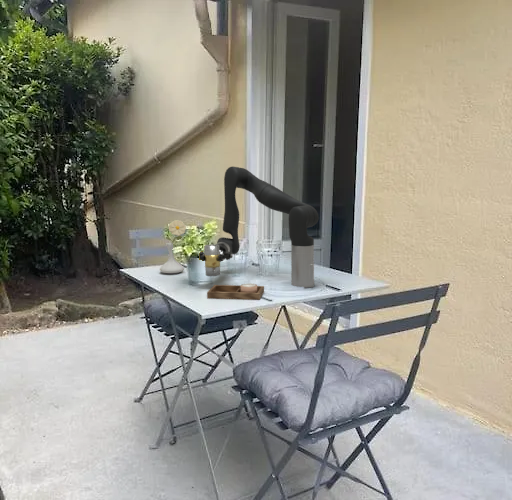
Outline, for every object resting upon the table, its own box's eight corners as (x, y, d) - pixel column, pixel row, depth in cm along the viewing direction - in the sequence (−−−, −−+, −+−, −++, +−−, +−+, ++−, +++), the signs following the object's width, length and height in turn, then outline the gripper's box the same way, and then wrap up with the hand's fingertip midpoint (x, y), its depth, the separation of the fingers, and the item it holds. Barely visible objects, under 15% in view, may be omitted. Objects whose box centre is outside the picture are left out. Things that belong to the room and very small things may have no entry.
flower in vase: (157, 275, 250) (155, 221, 246) (161, 270, 261) (159, 218, 257) (186, 275, 250) (184, 221, 246) (188, 270, 262) (187, 218, 257)
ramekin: (258, 293, 212) (258, 283, 211) (255, 297, 205) (255, 287, 205) (242, 293, 213) (242, 282, 212) (239, 297, 206) (239, 286, 206)
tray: (264, 293, 214) (264, 286, 214) (259, 301, 203) (259, 293, 202) (214, 292, 217) (214, 284, 217) (207, 299, 206) (207, 292, 205)
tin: (222, 273, 224) (220, 244, 222) (218, 276, 218) (217, 246, 216) (207, 273, 225) (206, 244, 223) (203, 276, 219) (202, 246, 217)
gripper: (203, 243, 235) (193, 249, 218) (236, 243, 232) (228, 249, 216) (204, 260, 236) (193, 267, 219) (236, 260, 233) (228, 267, 217)
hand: (210, 258), depth 218 cm, fingers closed on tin, 6 cm apart
